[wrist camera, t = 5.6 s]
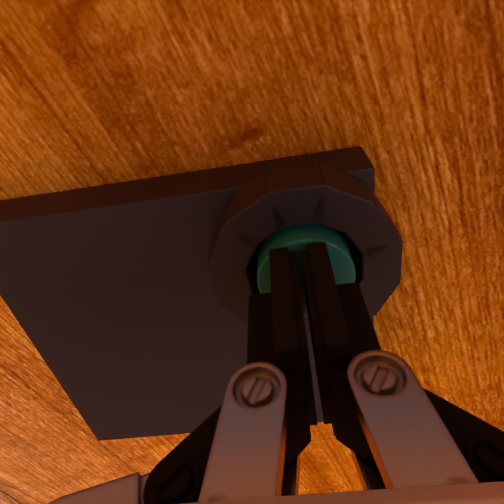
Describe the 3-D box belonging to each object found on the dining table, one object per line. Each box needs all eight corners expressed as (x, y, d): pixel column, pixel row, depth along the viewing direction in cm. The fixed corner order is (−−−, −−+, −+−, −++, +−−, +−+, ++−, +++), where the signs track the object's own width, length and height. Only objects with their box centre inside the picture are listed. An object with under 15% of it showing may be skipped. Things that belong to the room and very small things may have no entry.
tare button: (345, 207, 13) (355, 233, 11) (348, 281, 14) (357, 311, 13) (250, 219, 13) (249, 246, 12) (263, 291, 15) (264, 322, 13)
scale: (375, 130, 14) (407, 172, 11) (373, 384, 21) (391, 449, 18) (-22, 191, 15) (-88, 243, 12) (109, 408, 22) (87, 472, 20)
